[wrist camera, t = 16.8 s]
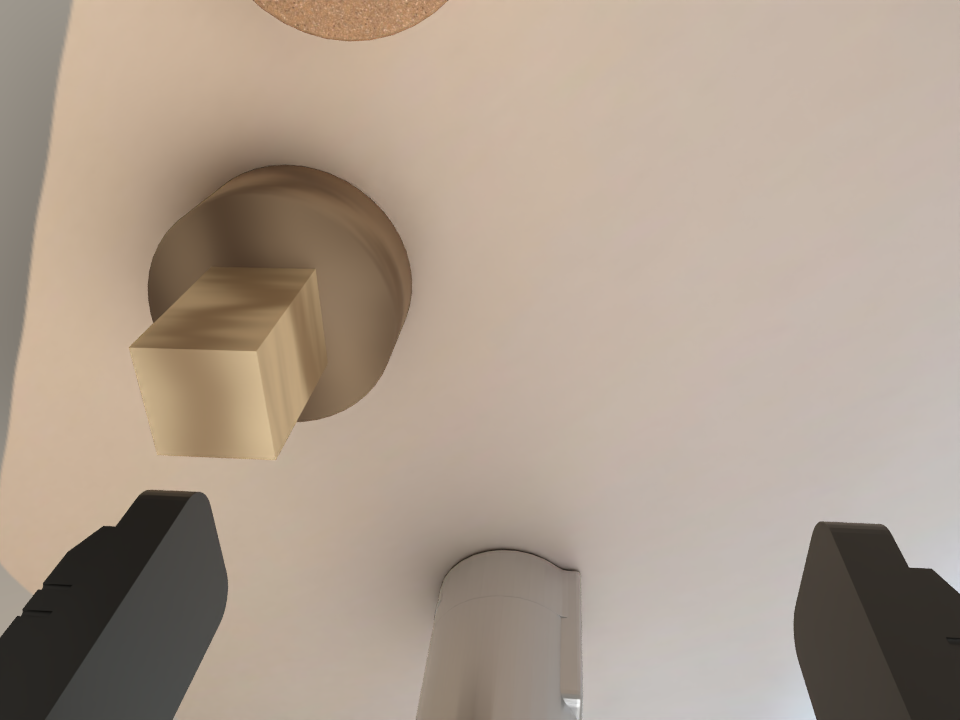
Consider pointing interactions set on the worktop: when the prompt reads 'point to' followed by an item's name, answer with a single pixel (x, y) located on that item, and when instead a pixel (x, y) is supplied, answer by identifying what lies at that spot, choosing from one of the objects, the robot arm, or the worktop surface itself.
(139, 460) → the worktop surface
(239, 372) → the oak block
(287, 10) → the lidded jar
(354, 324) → the walnut plinth
